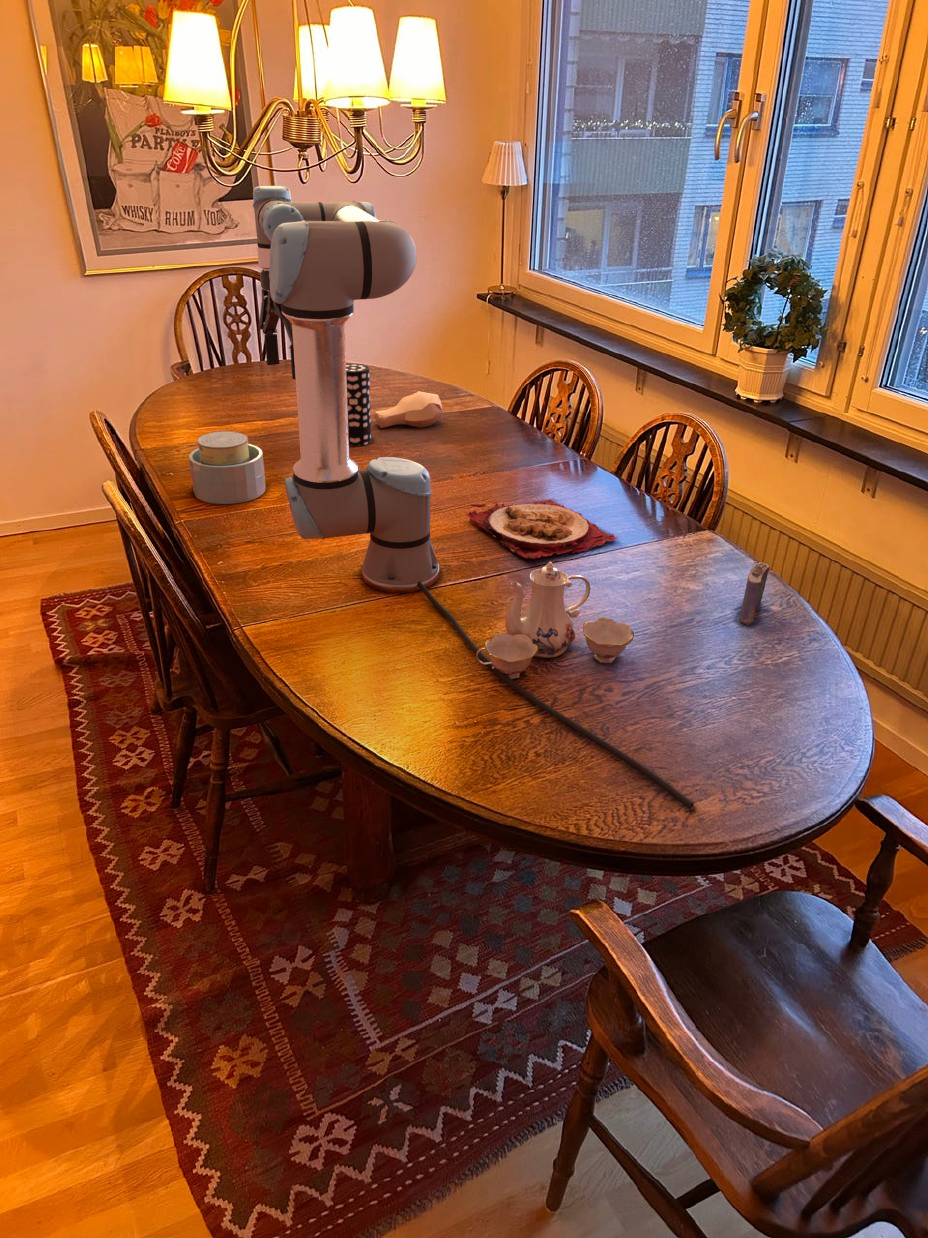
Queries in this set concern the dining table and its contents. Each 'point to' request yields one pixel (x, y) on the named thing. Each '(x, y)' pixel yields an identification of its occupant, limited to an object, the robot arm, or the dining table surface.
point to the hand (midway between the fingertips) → (285, 371)
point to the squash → (412, 411)
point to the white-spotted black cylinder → (358, 404)
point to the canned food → (223, 448)
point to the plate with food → (540, 528)
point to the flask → (753, 592)
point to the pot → (228, 479)
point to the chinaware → (550, 626)
